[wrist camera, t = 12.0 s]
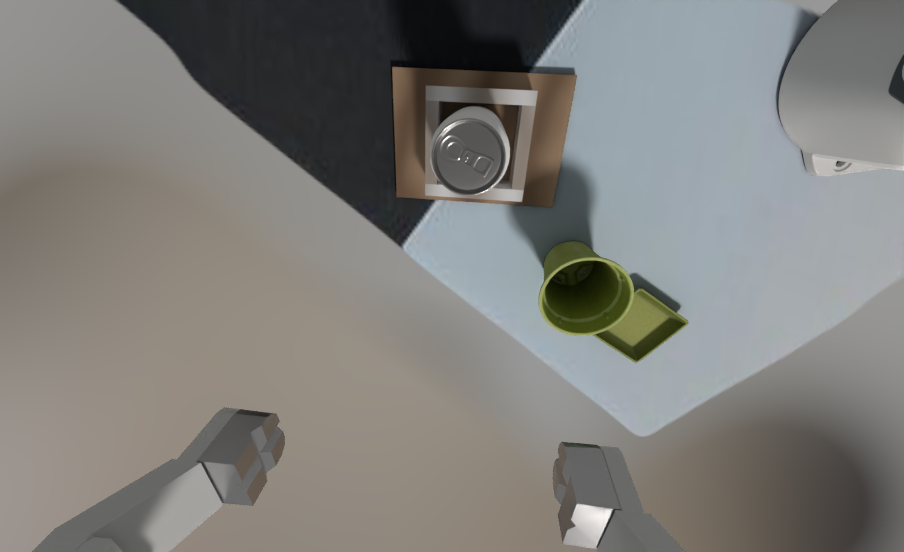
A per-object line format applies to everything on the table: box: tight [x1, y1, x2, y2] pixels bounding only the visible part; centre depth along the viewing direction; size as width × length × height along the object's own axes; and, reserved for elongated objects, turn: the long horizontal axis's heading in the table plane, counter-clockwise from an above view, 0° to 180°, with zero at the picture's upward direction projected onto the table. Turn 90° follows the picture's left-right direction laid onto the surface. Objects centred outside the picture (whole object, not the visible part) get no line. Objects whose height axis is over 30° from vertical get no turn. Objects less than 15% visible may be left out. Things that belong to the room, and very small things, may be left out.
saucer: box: [593, 288, 688, 363], centre depth 45 cm, size 9×9×2 cm
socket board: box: [392, 67, 577, 207], centre depth 35 cm, size 18×13×6 cm
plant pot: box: [539, 241, 634, 336], centre depth 39 cm, size 9×9×9 cm
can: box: [430, 106, 510, 196], centre depth 31 cm, size 6×6×12 cm
